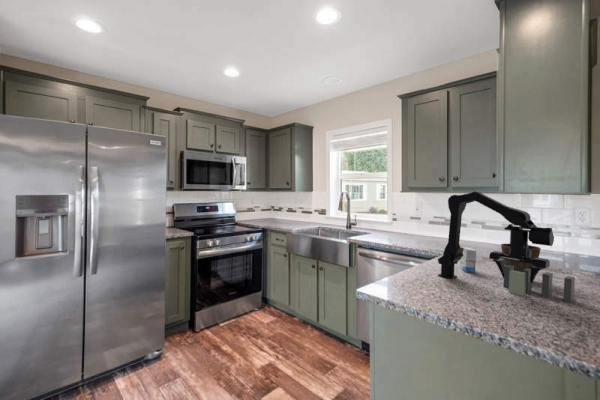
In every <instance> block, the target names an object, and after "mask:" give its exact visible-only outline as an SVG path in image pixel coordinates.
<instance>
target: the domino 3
mask: <svg viewBox="0 0 600 400" xmlns="http://www.w3.org/2000/svg"><path fill="white" fill-rule="evenodd" d="M541 277H542V278H541V297H543V296H544V297H545V298H547V297H548V298H550V297H551V296H552V295H553V272H550V271H549V272H548V271H545V272H544V273H543V272H542V275H541Z"/></svg>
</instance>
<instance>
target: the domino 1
mask: <svg viewBox="0 0 600 400" xmlns="http://www.w3.org/2000/svg"><path fill="white" fill-rule="evenodd" d="M510 270H514V266H511V265H507V266H505V277H503V288H506V289H509V273H510Z"/></svg>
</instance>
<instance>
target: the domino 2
mask: <svg viewBox="0 0 600 400" xmlns="http://www.w3.org/2000/svg"><path fill="white" fill-rule="evenodd" d="M523 272H524V273H526V292H525V293H527V294H528V293H530V292H532V290H533V289H532V288H533V283H532V284H531V283H530V275H531V269H528V268H526V269H524V270H523Z"/></svg>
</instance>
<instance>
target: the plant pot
mask: <svg viewBox="0 0 600 400" xmlns="http://www.w3.org/2000/svg"><path fill="white" fill-rule="evenodd" d="M509 244H510V243H501V244H500V245H501V246H500V247H501V252H504V253H505V255H509V253H510V247H509ZM528 246H529V249H530V250H531V251H532V255H531V259H534V258H540V254H541V249H542V248H541V247H539V246H536V245H529V244H528ZM512 258H514V257H512ZM514 259H516V258H514ZM504 260H506V261H505V266H507V265H511V266H514V271H519V272H523V270H524V269H526V268H528V269H531V267H533V266H534V265H533V264H530V263H525V262H519V261H513V260H507V259H504ZM520 260H521V259H520Z"/></svg>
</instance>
